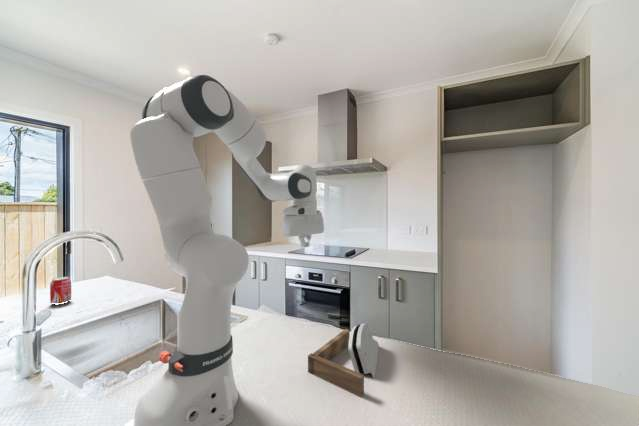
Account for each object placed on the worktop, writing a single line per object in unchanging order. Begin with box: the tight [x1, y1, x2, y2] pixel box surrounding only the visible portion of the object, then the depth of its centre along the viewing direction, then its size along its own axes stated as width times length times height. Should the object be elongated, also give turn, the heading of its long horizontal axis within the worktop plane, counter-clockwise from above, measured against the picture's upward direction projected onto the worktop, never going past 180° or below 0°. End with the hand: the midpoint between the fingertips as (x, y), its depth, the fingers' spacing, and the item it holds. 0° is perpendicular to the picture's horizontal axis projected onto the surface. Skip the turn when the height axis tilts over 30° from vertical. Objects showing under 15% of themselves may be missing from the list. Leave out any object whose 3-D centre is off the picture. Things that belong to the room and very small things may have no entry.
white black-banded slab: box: [347, 323, 380, 378], centre depth 76 cm, size 17×5×10 cm, turn 162°
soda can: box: [49, 276, 72, 304], centre depth 121 cm, size 7×7×12 cm
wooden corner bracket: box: [307, 328, 365, 398], centre depth 73 cm, size 20×16×4 cm
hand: (304, 246), depth 96 cm, fingers closed
